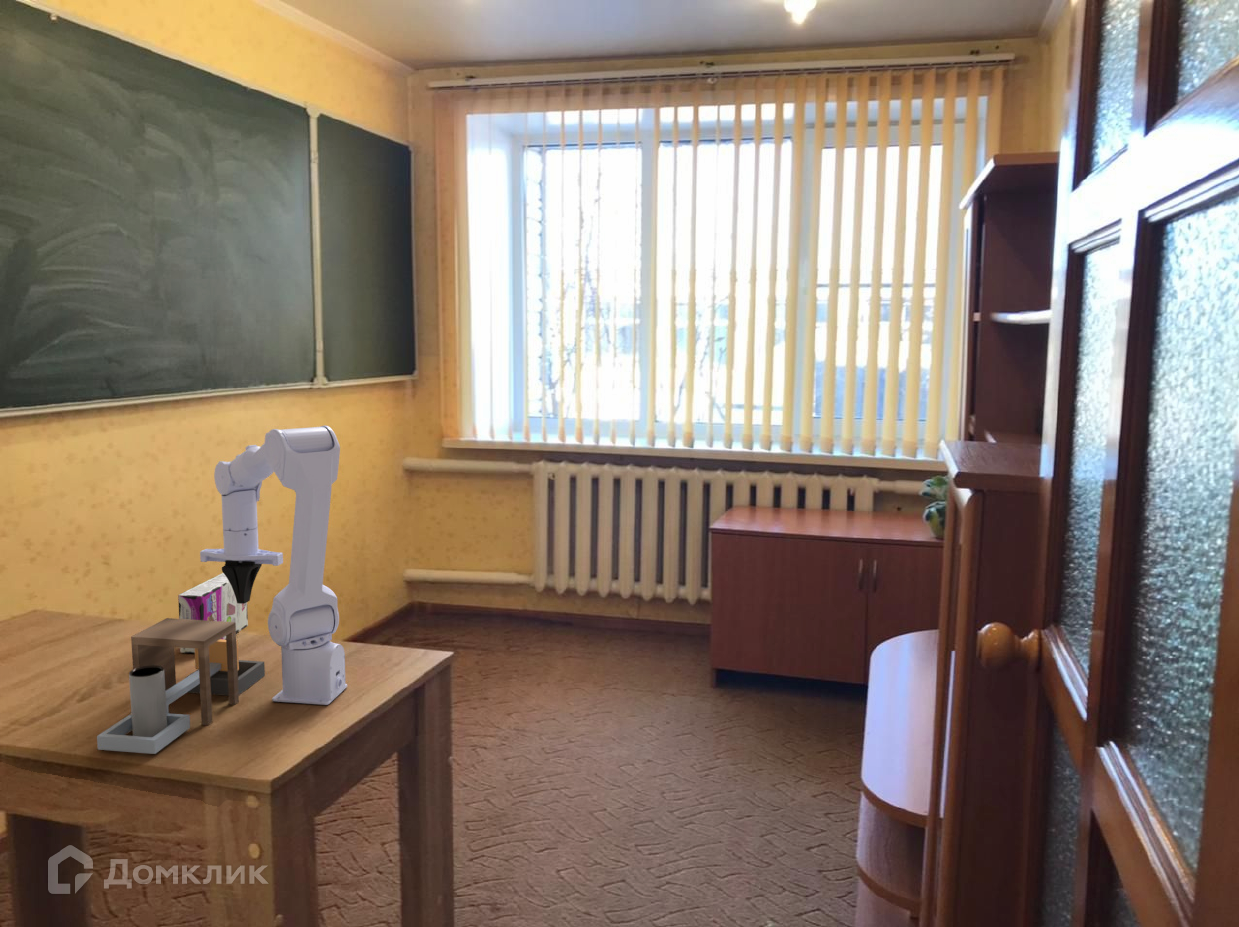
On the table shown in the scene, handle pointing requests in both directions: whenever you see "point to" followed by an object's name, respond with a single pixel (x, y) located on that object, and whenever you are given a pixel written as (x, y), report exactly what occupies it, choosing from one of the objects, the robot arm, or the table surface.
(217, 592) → the candy bar box
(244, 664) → the box
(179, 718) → the slider
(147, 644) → the tunnel
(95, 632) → the table surface
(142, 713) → the gray cylinder
